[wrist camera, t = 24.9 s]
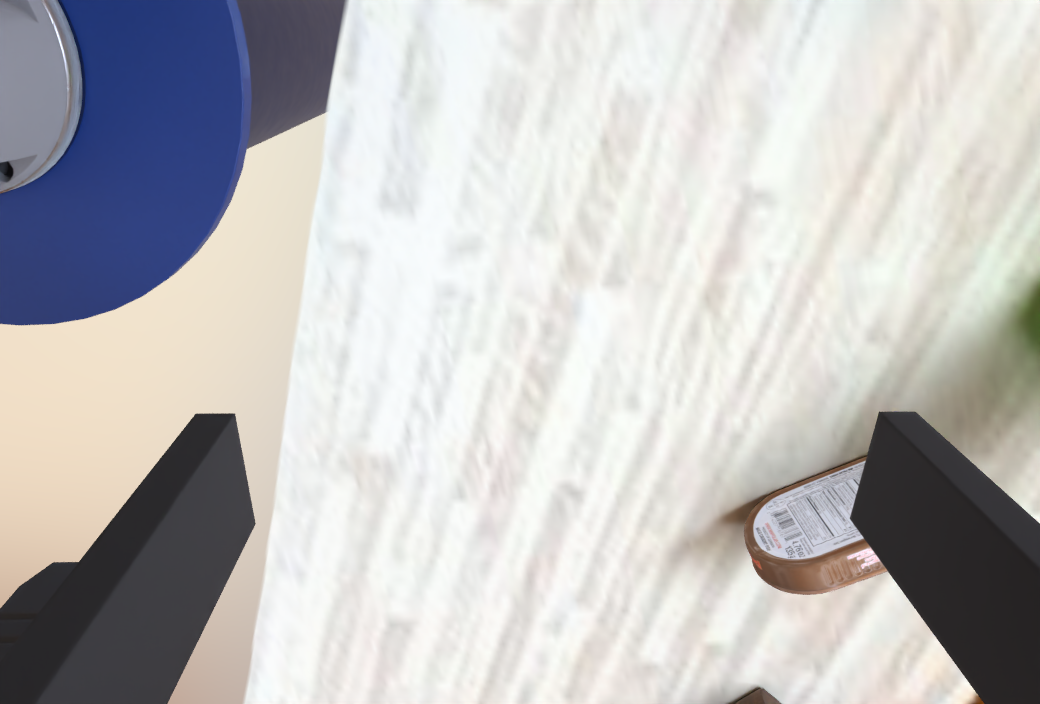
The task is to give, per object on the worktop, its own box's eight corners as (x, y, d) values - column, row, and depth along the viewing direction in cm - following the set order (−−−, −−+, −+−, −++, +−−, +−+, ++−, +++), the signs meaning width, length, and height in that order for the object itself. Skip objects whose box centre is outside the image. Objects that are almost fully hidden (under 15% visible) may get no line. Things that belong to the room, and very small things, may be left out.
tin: (737, 533, 52) (779, 619, 44) (724, 503, 51) (764, 586, 43) (934, 456, 49) (1014, 534, 42) (925, 423, 48) (1006, 496, 40)
